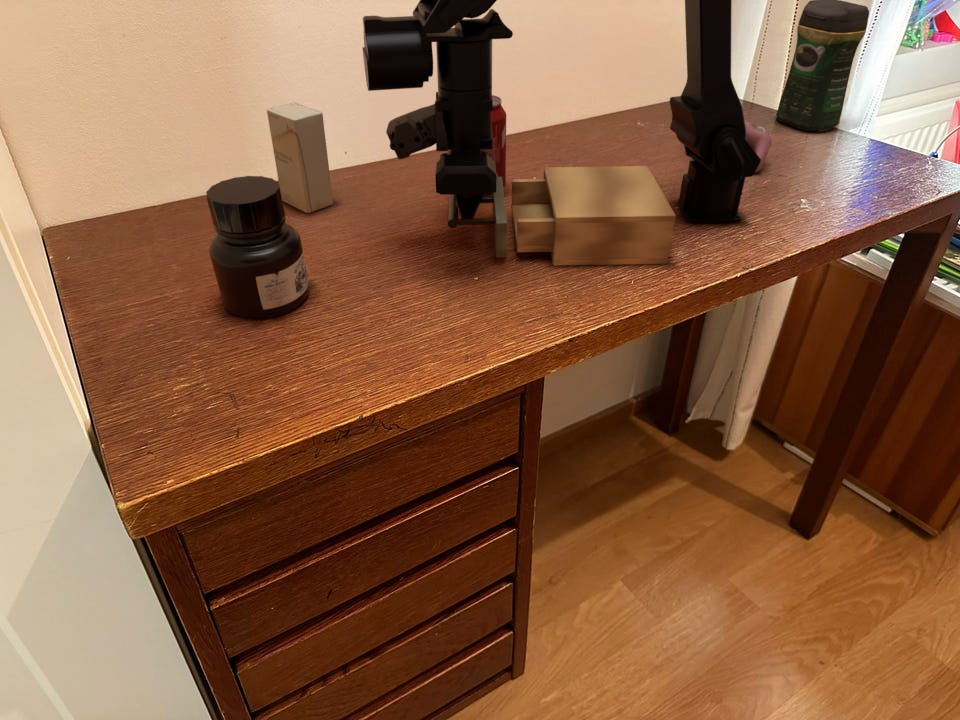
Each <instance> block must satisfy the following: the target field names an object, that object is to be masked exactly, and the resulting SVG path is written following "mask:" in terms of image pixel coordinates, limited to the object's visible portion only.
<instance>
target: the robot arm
mask: <svg viewBox="0 0 960 720" xmlns="http://www.w3.org/2000/svg"><path fill="white" fill-rule="evenodd" d="M497 1H498V0H419V1H418V2H417V4H416V6H415V7H414V9H413V11H412V15H410V16H409V15H408V16H407V15H406V16H405V15H404V16H386V17H385V16H380V15H364V16H363V17H362V25H363V47H362V56H363V57H362V58H363V66H364V73H365V74H364V75H365V82H366V88H367V91H368V92H373V91H390V90H406V89H422V88H423V87H424V83H429V82H430V81H429V80H430V78H431V77H433V74H434V55H433V52H434V51H433V43H435V47H436V49H435V50H436V72H437V73H436V75H437V91H436V92H435V100H434V103H433V104H430V105H427V106H423V107H420V108H418V109H415V110H412V111H409V112H407V113H405V114H402V115H399V116H397V117H395V118H393V119H390V120H389V122H388V124H387V127H386V130H385V133H386V135H387V138H388V140H389V148H390V150H391V151H394V154H395V155H396V158H397V159H399V160H404V159H406V158H409V157H410V155H412V154H415V153H417V152H420V151H423V150H426V149H429V148H431V147H433V146H434V145H435V151H436V152H443V153H441V154H440V155H439V159H438V160H437V162H436V164H435V174H434V177H435V178H434V179H435V193H436V194H439V195H445V196H446V195H448V196H450V195H456V199H457V203H458V212H459V215H460V219H467V218H474V217H475V216H476V213H477V211H478V209H479V206H480V204H481V203H480V202H481V200H482V198H483V195H484V194H493V193H495V192H496V176H497V175H496V164H495V162H494V161H493V160H492V154H491V153H487V152H485V151H482V149H492V111H493V99H492V95H493V40H506V39H507V40H509V39H512V37H513V35H514V32H513V31H512V30H511V28H509V27H508V26H507V25H506V24H505V23H504V22H503V20H502V19H501V17H500V14H499V12H497V11H496V10H495V9H493V8H492V7H493V6H494V4H495V3H497ZM732 6H733V5H732V0H684V16H685V21H684V22H685V46H686V47H685V48H686V50H685V51H686V83H685V85H684V88H683V90H682V92H681V95H678V96H676V95H675V96H671V97H670V98H669V105H670V110H671V121H670V122H671V123H670V126H669V129H670V131H672V132H673V133H674V134H675V136H676V138H677V140H678V141H679V142H680V143H681V144H682V145H683V146H684V147H683V148H684V151H685V152H684V153H685V156H687V157H688V158H691V159H692V160H690V161H689V162H688V167H687V173H683V175H682V179H681V185H680V186H681V187H680V191H679V195H678V200H677V203H678V206H679V207H680V209H681V211H682V212H683V214H684V215H685V217H686V218H687V221H688V222H689V223H693V224H699V223H700V224H703V223H709V224H710V223H741V222H742V219H743V218H742V216H741V215H740V213H739V207H740V203H741V199H742V195H743V194H742V193H743V190H744V186H745V181H746V178H750V177H753V176H754V175H755V174H756V173H755V171H756V169H757V167H758V166H759V164H760V162H761V159H760V158H759V156H758V155H757V154H756V153H755V151H754V150H753V149H752V147H751V146H750V145H749V144H748V142H747V141H746V140H745V138H746V126H745V121H746V120H745V114H744V109H743V105H742V102H741V100H740V97H739V95H738V93H737V90H736V87H735V85H734V83H733V80H732V79H733V78H732ZM485 13H486V14H485ZM484 14H485V15H484ZM482 15H484V16H483V17H481V16H482ZM479 17H481V18H479Z"/></svg>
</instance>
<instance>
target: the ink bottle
mask: <svg viewBox="0 0 960 720" xmlns="http://www.w3.org/2000/svg"><path fill="white" fill-rule="evenodd" d="M205 194H206V196H205V197H206V201H207V205H208V208H209V209H208V210H209V212H210V217H211V220H212V224H213V227H214V231H215V232H216V233H217V234H216V235H215V237H214V238H213V239H212V241H211V242H210V245H209V249H208V250H209V258H210V261H211V265H212V268H213V272H214V276H215V279H216V283H217V287H218V290H219V291H218V292H219V294H220V298H221V302H222V305H223V306H224V308H225V309H226V310H227V311H228V312H230V313H232V314H235V315H237V316H242V317H246V318H247V317H248V318H268V317H275V316H279V315H283V314H285V313H288V312H290V311H292V310H293V309H295V308H297V307H298V306H300V304H302V303H303V302H304V301H305V300H306V298H307V297H308V295H309V292H310V282H309V277H308V272H307V266H306V260H305V254H304V249H303V244H302V243H303V242H302V239H301V236H300V234H299V232H298V231H297V230H296V229H295V228H294V227H293V226H292V225H290V224H287V223H286V220H287V219H286V217H287V216H286V213H285V208H284V201H282V196H281V191H280V187H279V181H277V180H275V179H273V178H272V177H266V176H263V175H244V176H236V177H232V178H228V179H223V180H221V181H220V182H217V183H215V184H213V185H211V186H210V188H208V190H205Z"/></svg>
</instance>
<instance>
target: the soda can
mask: <svg viewBox="0 0 960 720" xmlns="http://www.w3.org/2000/svg"><path fill="white" fill-rule="evenodd" d="M492 99H493V111H492V149H482V151H485V152H487V153H491V154H492V160H493V161H494V162H495V164H496V175H497V176H496V177H502V181H503V190H504V189H505V188H506V184H507V183H506V179H507V178H506V176H507V175H506V173H507V112H506V110H505V108H504V107H503V105H502V103H503V101H502V100H503V99H502V98H501V97H500V96H497V95H494V94H492ZM483 197H492V194H484V195H483Z"/></svg>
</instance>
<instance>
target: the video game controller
mask: <svg viewBox="0 0 960 720" xmlns="http://www.w3.org/2000/svg"><path fill="white" fill-rule="evenodd" d="M745 126H746V138H745V140H746V141H747V142H748V144H749V145H750V146H751V147H752V149H753V150H754V151H755V153H756V154H757V155H758V156H759V158H760V159H761V162H760V164H759V166H758V167H757V169H756V171H755V173H754V174H757V173H759V171H760V170H761V169H762V168H763V166H764V164H765V161H766V159H767V157H768V154H769V151H770V148H771V146H772V143H773V142H772V136H771V134H770V133H769V132H768V131H767V130H766V129H765V127H762V126H760V125H757V124H755V123H753V122H750V121H746V120H745Z"/></svg>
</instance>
